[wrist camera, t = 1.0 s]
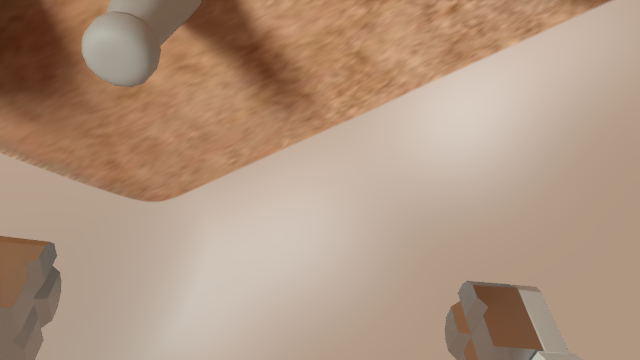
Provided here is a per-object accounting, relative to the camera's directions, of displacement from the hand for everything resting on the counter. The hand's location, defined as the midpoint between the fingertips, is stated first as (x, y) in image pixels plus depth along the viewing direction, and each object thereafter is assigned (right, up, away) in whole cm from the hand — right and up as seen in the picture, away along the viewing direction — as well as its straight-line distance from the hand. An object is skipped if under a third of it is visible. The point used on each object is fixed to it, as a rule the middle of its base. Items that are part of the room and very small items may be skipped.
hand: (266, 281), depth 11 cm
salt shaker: (-10, +18, +29) cm, 36 cm away
